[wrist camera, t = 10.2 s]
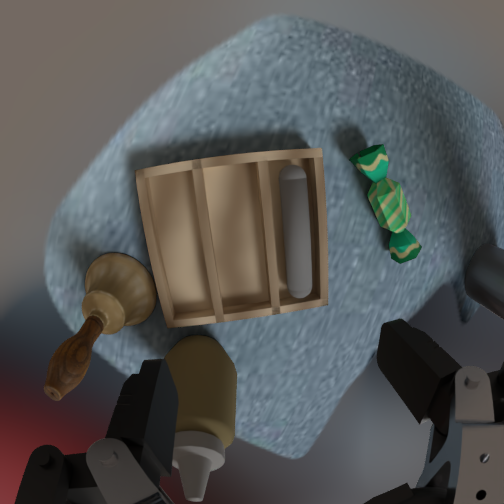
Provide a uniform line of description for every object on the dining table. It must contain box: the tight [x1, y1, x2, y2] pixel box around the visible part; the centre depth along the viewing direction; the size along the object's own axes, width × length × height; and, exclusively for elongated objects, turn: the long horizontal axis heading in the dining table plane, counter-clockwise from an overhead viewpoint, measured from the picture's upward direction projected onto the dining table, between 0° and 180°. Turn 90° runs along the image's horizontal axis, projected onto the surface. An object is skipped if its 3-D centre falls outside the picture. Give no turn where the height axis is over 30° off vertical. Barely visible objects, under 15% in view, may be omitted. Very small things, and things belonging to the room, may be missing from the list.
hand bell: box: [44, 253, 157, 401], centre depth 19 cm, size 8×8×16 cm
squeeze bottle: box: [164, 335, 237, 501], centre depth 21 cm, size 8×8×18 cm
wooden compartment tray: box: [135, 148, 328, 328], centre depth 25 cm, size 16×15×2 cm
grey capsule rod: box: [279, 165, 312, 298], centre depth 25 cm, size 2×12×2 cm, turn 6°
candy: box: [349, 144, 422, 264], centre depth 26 cm, size 12×3×4 cm, turn 31°
